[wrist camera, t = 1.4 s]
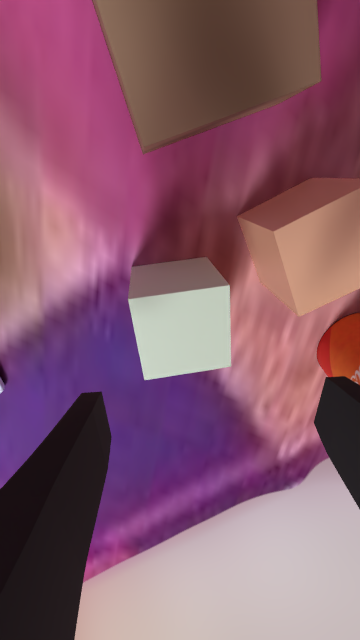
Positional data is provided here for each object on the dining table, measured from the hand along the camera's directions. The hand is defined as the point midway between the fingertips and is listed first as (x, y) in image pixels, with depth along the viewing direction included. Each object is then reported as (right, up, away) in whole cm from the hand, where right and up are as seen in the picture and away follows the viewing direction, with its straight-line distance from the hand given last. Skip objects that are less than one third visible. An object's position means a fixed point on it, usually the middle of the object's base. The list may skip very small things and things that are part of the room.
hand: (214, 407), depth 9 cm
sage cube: (-2, +4, +8) cm, 10 cm away
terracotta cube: (+5, +8, +8) cm, 12 cm away
